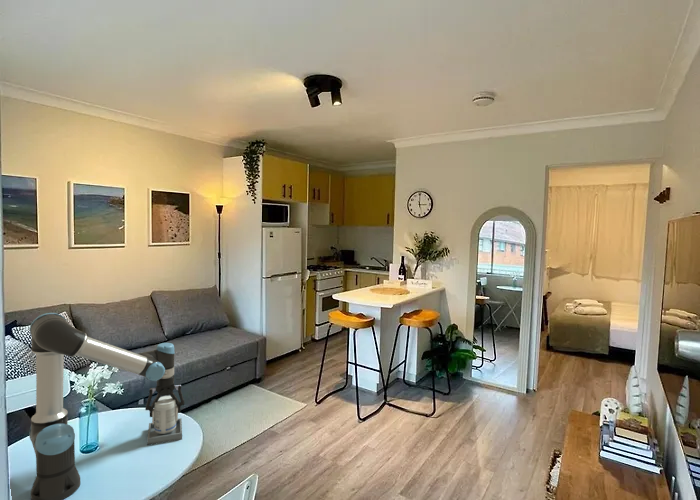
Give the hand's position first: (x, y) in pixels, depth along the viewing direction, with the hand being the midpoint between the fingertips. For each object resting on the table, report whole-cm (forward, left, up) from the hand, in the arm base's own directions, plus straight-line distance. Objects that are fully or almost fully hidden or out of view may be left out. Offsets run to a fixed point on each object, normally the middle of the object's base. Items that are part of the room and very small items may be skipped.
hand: (165, 421), depth 190 cm
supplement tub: (0, 0, -4) cm, 4 cm away
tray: (0, 0, -6) cm, 6 cm away
